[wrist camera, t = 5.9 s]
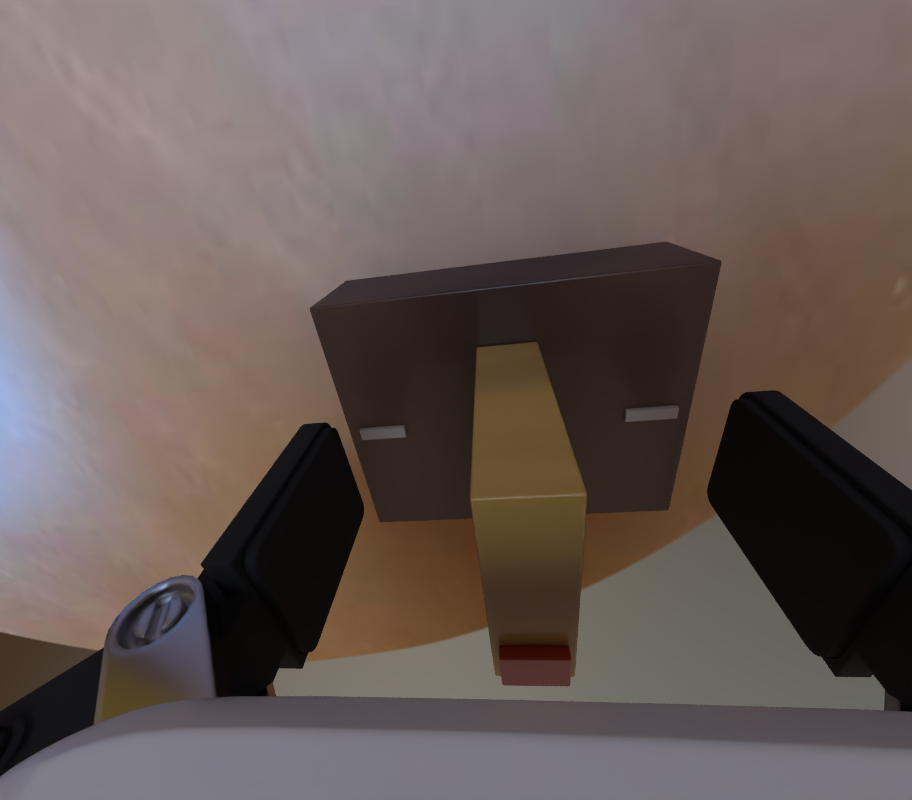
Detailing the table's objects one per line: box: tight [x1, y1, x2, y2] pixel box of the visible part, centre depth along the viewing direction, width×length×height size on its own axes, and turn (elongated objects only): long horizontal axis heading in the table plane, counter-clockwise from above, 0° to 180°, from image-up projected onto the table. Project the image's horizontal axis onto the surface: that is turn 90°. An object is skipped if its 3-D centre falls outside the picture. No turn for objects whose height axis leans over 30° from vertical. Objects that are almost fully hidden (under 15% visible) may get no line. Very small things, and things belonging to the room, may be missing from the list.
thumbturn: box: [470, 342, 587, 686], centre depth 9 cm, size 5×2×6 cm, turn 7°
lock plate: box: [310, 242, 721, 522], centre depth 12 cm, size 10×8×3 cm
